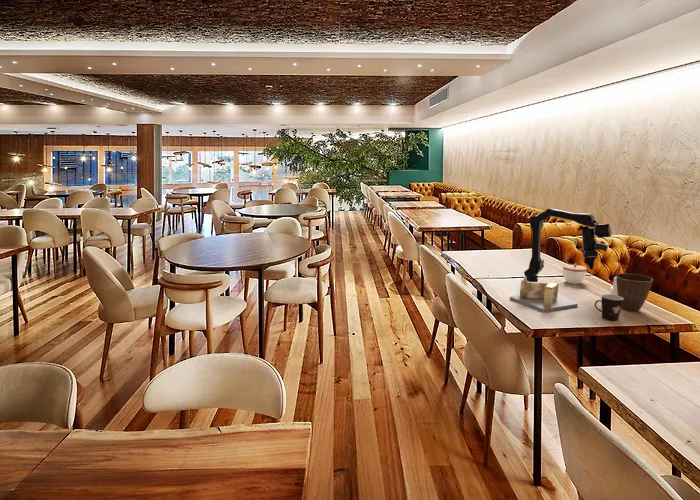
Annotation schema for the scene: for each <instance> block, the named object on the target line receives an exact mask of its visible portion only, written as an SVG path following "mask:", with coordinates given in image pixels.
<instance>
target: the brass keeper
mask: <svg viewBox="0 0 700 500" xmlns="http://www.w3.org/2000/svg"><path fill="white" fill-rule="evenodd" d="M549 283H550V284H548V285H547V286H545V295H544V305H543V306H547V307H551V306H552V300H553V290H554V288H555V287H556V286H557V284H553V283H554V282H549Z"/></svg>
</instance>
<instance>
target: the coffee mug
mask: <svg viewBox="0 0 700 500" xmlns="http://www.w3.org/2000/svg"><path fill="white" fill-rule="evenodd" d="M623 299H624V298H622V297H620V296H616V295H610V294H601V299H599V300H598V299H597V300H596V301H595V302H594V307H595V309H596V310H597V311H599V312H601V318H602V320H605V321H608V320H609V321H610V322H617V320H619V317H620V313H621V310H622V309H621V307H622V303H623ZM598 302H601V309H599V308H598V306H597V303H598Z"/></svg>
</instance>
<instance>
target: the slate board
mask: <svg viewBox="0 0 700 500" xmlns="http://www.w3.org/2000/svg"><path fill="white" fill-rule="evenodd" d="M510 300H511V301H513V302H515V303H518V304H521V305H523V306H526V307H529V308H531V309H533V310H537V311H539V312H541V313H550V312H555V311H560V310H567V309H573V308H577V307H578V306H579V304H578V303H576V302H573V301H570V300H568V299H564V298H562V297H558V296H557V299H553V300H552V306H551V307H547V306H543V305H544V298H521V297H520V294H518V295H513V296H511V295H510V296H509V301H510Z"/></svg>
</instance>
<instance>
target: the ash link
mask: <svg viewBox="0 0 700 500" xmlns="http://www.w3.org/2000/svg"><path fill="white" fill-rule="evenodd" d="M523 280H524V279H523ZM523 280H520V290H519V295H520V297H521V298H544V295H545V286H547V285H548V284H550V283H551V282H545V281H544V282H542V281H538V282H529V281H523ZM552 283H553V284H557V286H556V287H555V288H554V290H553V299H557V297H558V294H559V293H558V292H559V285H560V284H559V282H552Z"/></svg>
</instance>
